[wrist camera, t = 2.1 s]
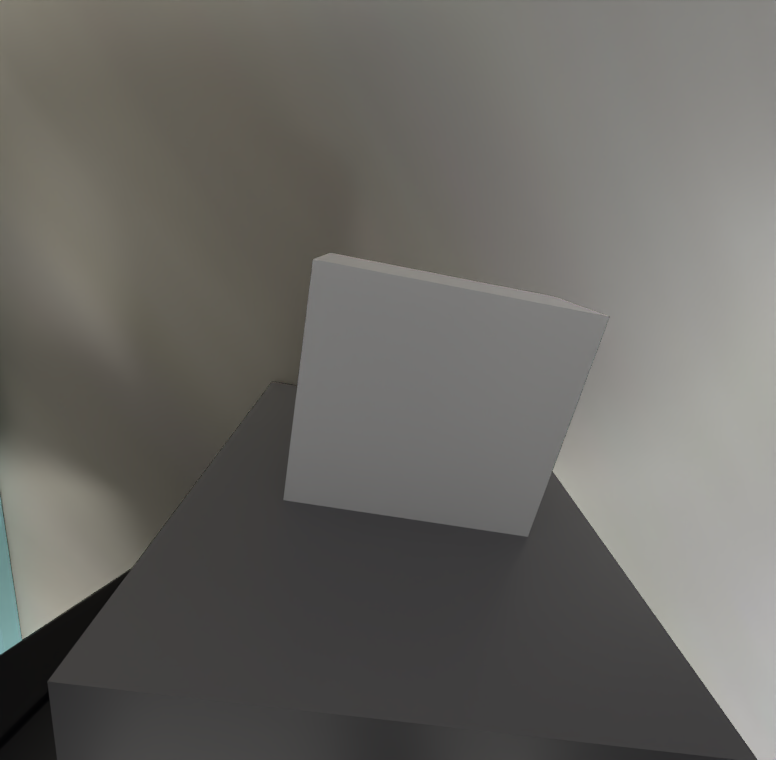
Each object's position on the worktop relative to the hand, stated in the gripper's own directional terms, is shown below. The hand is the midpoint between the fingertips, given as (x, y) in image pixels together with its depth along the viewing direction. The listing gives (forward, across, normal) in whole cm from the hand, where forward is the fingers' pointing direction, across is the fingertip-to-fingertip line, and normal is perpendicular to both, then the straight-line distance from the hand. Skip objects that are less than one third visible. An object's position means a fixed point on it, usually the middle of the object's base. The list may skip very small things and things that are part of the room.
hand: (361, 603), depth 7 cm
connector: (+1, 0, 0) cm, 1 cm away
